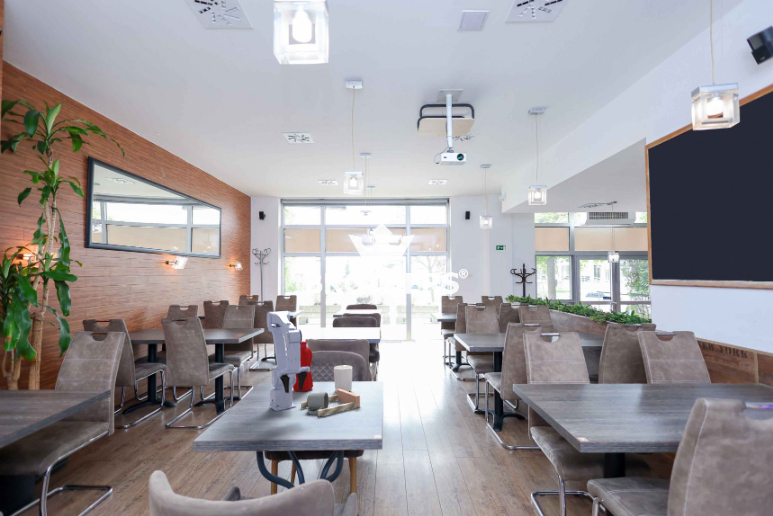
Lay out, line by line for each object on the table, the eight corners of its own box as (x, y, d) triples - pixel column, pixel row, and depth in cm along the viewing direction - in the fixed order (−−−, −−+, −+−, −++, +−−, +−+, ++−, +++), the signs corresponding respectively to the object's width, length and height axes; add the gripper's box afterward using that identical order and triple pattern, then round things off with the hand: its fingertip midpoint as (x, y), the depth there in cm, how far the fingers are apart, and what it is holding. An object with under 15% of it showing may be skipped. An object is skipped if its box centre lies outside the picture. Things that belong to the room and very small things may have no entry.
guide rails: (319, 417, 177) (319, 410, 177) (301, 408, 190) (301, 402, 190) (356, 407, 189) (356, 402, 189) (336, 400, 202) (336, 394, 202)
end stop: (356, 407, 189) (356, 396, 189) (336, 400, 202) (336, 389, 202) (359, 406, 190) (359, 395, 190) (340, 399, 203) (340, 388, 203)
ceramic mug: (311, 407, 191) (311, 389, 192) (329, 407, 190) (329, 390, 190) (303, 415, 181) (303, 396, 181) (322, 415, 180) (321, 397, 180)
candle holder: (356, 391, 216) (355, 367, 217) (338, 394, 211) (338, 370, 212) (348, 387, 225) (347, 364, 225) (330, 390, 220) (330, 366, 220)
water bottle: (296, 386, 228) (296, 339, 229) (315, 388, 225) (314, 340, 226) (287, 391, 219) (287, 342, 220) (306, 392, 216) (306, 343, 217)
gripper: (281, 362, 172) (281, 396, 172) (313, 357, 182) (313, 390, 181) (274, 360, 178) (274, 393, 177) (305, 355, 187) (305, 386, 186)
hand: (293, 391), depth 179 cm, fingers open, 6 cm apart
